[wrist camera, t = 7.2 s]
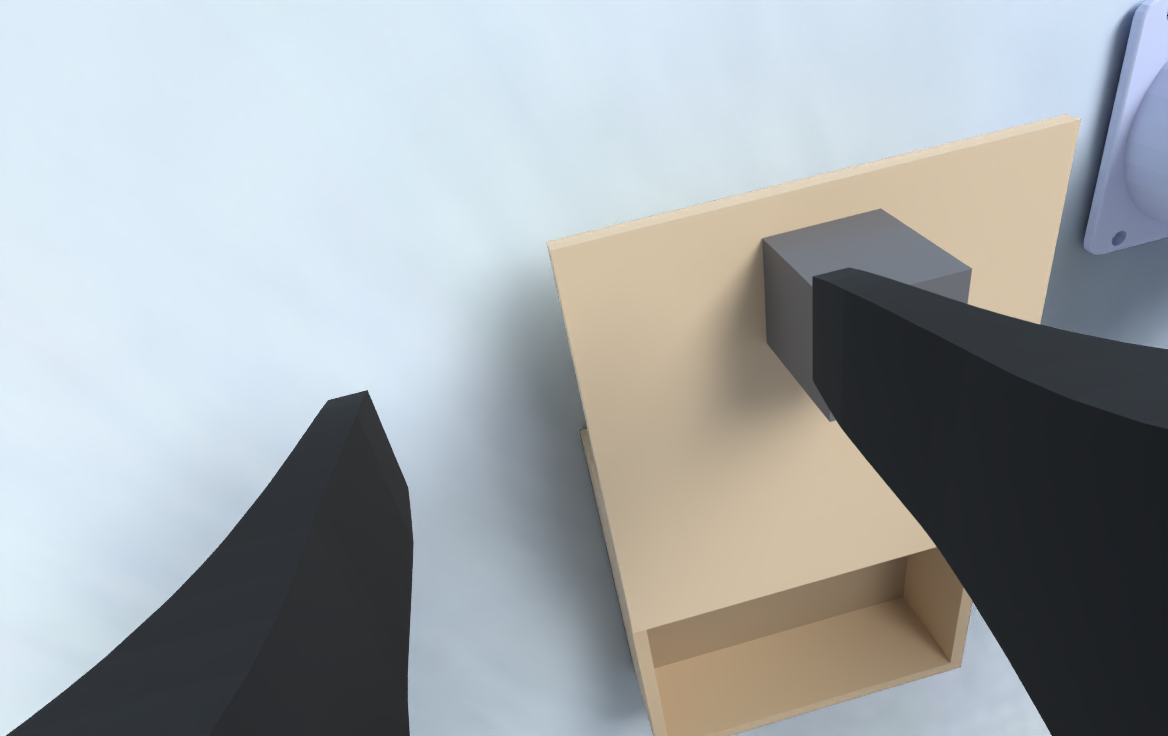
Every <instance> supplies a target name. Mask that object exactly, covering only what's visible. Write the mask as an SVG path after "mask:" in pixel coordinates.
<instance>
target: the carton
mask: <svg viewBox="0 0 1168 736" xmlns="http://www.w3.org/2000/svg"><path fill="white" fill-rule="evenodd" d="M580 434H581V438H582V442H583V447H584V451H585V456H586V460H587V464H588V469H589V473H590V478H591V482H592V486H593V491H594V495H595V500H596V504H597V508H598V513H599V517H600V522H601V526H602V530H603V535H604V539H605V544H606V548H607V552H608V557H609V561H610V565H611V570H612V574H613V579H614V583H615V587H616V592H617V596H618V601H619V605H620V609H621V614H622V618H623V623H624V627H625V631H626V636H627V640H628V645H629V649H630V653H631V658H632V662H633V667H634V671H635V674H636V678H637V681H638V685H639V688H640V692H641V695H642V698H643V702H644V705H645V709H646V712H647V716H648V719H649V723H650V726H651V729H652V733H653V736H730V735H733V734H737V733H740V732H744V731H747V730H750V729H754V728H757V727H760V726H764V725H767V724H770V723H774V722H777V721H781V720H784V719H787V718H791V717H794V716H797V715H801V714H804V713H807V712H811V711H814V710H818V709H821V708H824V707H828V706H831V705H834V704H838V703H841V702H844V701H848V700H851V699H855V698H858V697H861V696H865V695H868V694H871V693H875V692H878V691H881V690H885V689H888V688H891V687H895V686H898V685H902V684H905V683H908V682H912V681H915V680H918V679H922V678H925V677H928V676H932V675H935V674H939V673H942V672H945V671H949V670H952V669H955V668H959V667H961V662H962V656H963V651H964V645H965V640H966V634H967V629H968V624H969V618H970V613H971V607H972V602H973V601H972V599H971V598H970V596H969V595H968V593H967V592H966V590H965V589H964V587H963V586H962V584H961V583H960V581H959V580H958V578H957V577H956V575H955V573H954V572H953V570H952V569H951V567H950V566H949V564H948V563H947V561H946V560H945V558H944V557H943V555H942V554H941V552H940V551H939V549H938V548H937V547H935V548H931V549H928V550H924V551H921V552H917V553H914V554H910V555H907V556H903V557H900V558H896V559H893V560H889V561H886V562H882V563H879V564H875V565H872V566H868V567H865V568H861V569H858V570H854V571H851V572H847V573H844V574H840V575H837V576H833V577H830V578H826V579H823V580H819V581H816V582H812V583H809V584H805V585H802V586H798V587H795V588H791V589H788V590H784V591H781V592H777V593H773V594H770V595H766V596H763V597H759V598H756V599H752V600H749V601H745V602H742V603H738V604H735V605H731V606H728V607H724V608H721V609H717V610H714V611H710V612H707V613H703V614H700V615H696V616H693V617H689V618H686V619H682V620H679V621H675V622H672V623H668V624H665V625H661V626H658V627H654V628H651V629H647V630H644V631H640V632H637V633H633V630H632V627H631V624H630V620H629V615H628V611H627V606H626V602H625V597H624V593H623V588H622V583H621V579H620V574H619V570H618V565H617V561H616V556H615V552H614V547H613V543H612V538H611V533H610V529H609V524H608V520H607V515H606V511H605V506H604V502H603V497H602V492H601V488H600V483H599V479H598V474H597V470H596V465H595V461H594V456H593V452H592V447H591V442H590V438H589V433H588V429H587V428H586V429H583V430H580Z"/></svg>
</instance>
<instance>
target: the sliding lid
mask: <svg viewBox="0 0 1168 736" xmlns="http://www.w3.org/2000/svg"><path fill="white" fill-rule="evenodd" d="M1080 122H1081V119H1078V118H1075V117H1072V116H1069V115H1066V114H1065V115H1061V116H1057V117H1053V118H1049V119H1045V120H1041V121H1036V122H1032V123H1028V124H1024V125H1020V126H1016V127H1012V128H1008V129H1004V130H1000V131H996V132H992V133H988V134H984V135H980V136H975V137H971V138H967V139H963V140H959V141H955V142H951V143H947V144H943V145H939V146H935V147H931V148H927V149H923V150H919V151H914V152H910V153H906V154H902V155H898V156H894V157H890V158H886V159H882V160H878V161H874V162H870V163H866V164H862V165H858V166H853V167H849V168H845V169H841V170H837V171H833V172H829V173H825V174H821V175H817V176H813V177H809V178H805V179H801V180H797V181H792V182H788V183H784V184H780V185H776V186H772V187H768V188H764V189H760V190H756V191H752V192H748V193H744V194H740V195H736V196H731V197H727V198H723V199H719V200H715V201H711V202H707V203H703V204H699V205H695V206H691V207H687V208H683V209H679V210H675V211H670V212H666V213H662V214H658V215H654V216H650V217H646V218H642V219H638V220H634V221H630V222H626V223H622V224H618V225H614V226H609V227H605V228H601V229H597V230H593V231H589V232H585V233H581V234H577V235H573V236H569V237H565V238H561V239H557V240H553V241H548V242H547V247H548V251H549V256H550V260H551V265H552V269H553V274H554V279H555V283H556V288H557V292H558V297H559V301H560V306H561V310H562V315H563V320H564V324H565V329H566V333H567V338H568V342H569V347H570V351H571V356H572V361H573V365H574V370H575V374H576V379H577V383H578V388H579V392H580V397H581V401H582V406H583V411H584V415H585V420H586V424H587V429H588V433H589V438H590V442H591V447H592V452H593V456H594V461H595V465H596V470H597V474H598V479H599V483H600V488H601V492H602V497H603V502H604V506H605V511H606V515H607V520H608V524H609V529H610V533H611V538H612V543H613V547H614V552H615V556H616V561H617V565H618V570H619V574H620V579H621V583H622V588H623V593H624V597H625V602H626V606H627V611H628V615H629V620H630V624H631V627H632V630H633V633H637V632H640V631H644V630H647V629H651V628H654V627H658V626H661V625H665V624H668V623H672V622H675V621H679V620H682V619H686V618H689V617H693V616H696V615H700V614H703V613H707V612H710V611H714V610H717V609H721V608H724V607H728V606H731V605H735V604H738V603H742V602H745V601H749V600H752V599H756V598H759V597H763V596H766V595H770V594H773V593H777V592H781V591H784V590H788V589H791V588H795V587H798V586H802V585H805V584H809V583H812V582H816V581H819V580H823V579H826V578H830V577H833V576H837V575H840V574H844V573H847V572H851V571H854V570H858V569H861V568H865V567H868V566H872V565H875V564H879V563H882V562H886V561H889V560H893V559H896V558H900V557H903V556H907V555H910V554H914V553H917V552H921V551H924V550H928V549H931V548H935V547H937V546H936V545H935V544H934V542H933V541H932V540H931V538H930V537H929V536H928V535H927V533H926V532H925V531H924V529H923V528H922V527H921V525H920V524H919V523H918V522H917V520H916V519H915V518H914V517H913V516H912V514H911V513H910V512H909V511H908V510H907V508H906V507H905V506H904V505H903V504H902V502H901V501H900V500H899V499H898V497H897V496H896V495H895V494H894V493H893V491H892V490H891V489H890V488H889V487H888V485H887V484H886V483H885V482H884V480H883V479H882V478H881V477H880V476H879V474H878V473H877V472H876V471H875V470H874V468H873V467H872V466H871V465H870V464H869V462H868V461H867V460H866V459H865V457H864V456H863V455H862V454H861V452H860V451H859V450H858V449H857V448H856V446H855V445H854V444H853V443H852V441H851V440H850V439H849V438H848V436H847V435H846V434H845V432H844V431H843V430H842V429H841V427H840V426H839V424H838V423H837V421H836V419H835V418H834V416H833V414H832V413H831V411H830V410H829V408H828V406H827V405H826V403H825V401H824V399H823V398H822V396H821V394H820V392H819V391H818V389H817V387H816V385H815V384H814V382H813V323H812V277H813V276H816V275H820V274H824V273H828V272H832V271H836V270H840V269H844V268H848V267H850V268H854V269H859V270H863V271H867V272H870V273H873V274H877V275H880V276H883V277H886V278H890V279H893V280H896V281H899V282H902V283H905V284H908V285H911V286H914V287H917V288H920V289H923V290H926V291H929V292H932V293H935V294H938V295H941V296H944V297H947V298H950V299H954V300H957V301H960V302H963V303H966V304H969V305H973V306H976V307H979V308H982V309H986V310H989V311H992V312H996V313H999V314H1003V315H1006V316H1010V317H1014V318H1018V319H1021V320H1025V321H1029V322H1032V323H1036V324H1040V323H1041V318H1042V313H1043V308H1044V303H1045V298H1046V293H1047V288H1048V283H1049V278H1050V273H1051V267H1052V262H1053V257H1054V252H1055V247H1056V242H1057V237H1058V232H1059V227H1060V222H1061V217H1062V212H1063V207H1064V202H1065V197H1066V192H1067V187H1068V182H1069V177H1070V172H1071V167H1072V162H1073V157H1074V152H1075V147H1076V142H1077V137H1078V132H1079V127H1080Z"/></svg>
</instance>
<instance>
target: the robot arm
mask: <svg viewBox="0 0 1168 736" xmlns="http://www.w3.org/2000/svg"><path fill="white" fill-rule="evenodd" d="M1167 13H1168V0H1145V1H1144V2H1142V3H1141V4H1140V6H1139V7H1138V9H1137V10H1136V12H1135V14H1134V17H1133V21H1132V25H1131V30H1130V34H1129V39H1128V43H1127V48H1126V52H1125V57H1124V62H1123V66H1122V71H1121V75H1120V80H1119V84H1118V89H1117V93H1116V98H1115V102H1114V107H1113V111H1112V116H1111V120H1110V125H1109V129H1108V134H1107V138H1106V143H1105V147H1104V152H1103V156H1102V161H1101V166H1100V170H1099V175H1098V179H1097V184H1096V188H1095V193H1094V197H1093V202H1092V206H1091V211H1090V215H1089V220H1088V224H1087V229H1086V233H1085V238H1084V248H1085V250H1087V251H1089V252H1091V253H1093V254H1095V255H1102V254H1106V253H1110V252H1114V251H1117V250H1121V249H1125V248H1129V247H1133V246H1137V245H1140V244H1144V243H1148V242H1152V241H1156V240H1160V239H1163V238H1167V237H1168V16H1167ZM1115 234H1116V235H1115ZM1114 235H1115V237H1114V238H1113V236H1114ZM812 323H813V382H814V384H815V385H816V387H817V389H818V391H819V392H820V394H821V396H822V398H823V399H824V401H825V403H826V405H827V406H828V408H829V410H830V411H831V413H832V414H833V416H834V418H835V419H836V421H837V423H838V424H839V426H840V427H841V429H842V430H843V431H844V432H845V434H846V435H847V436H848V438H849V439H850V440H851V441H852V443H853V444H854V445H855V446H856V448H857V449H858V450H859V451H860V452H861V454H862V455H863V456H864V457H865V459H866V460H867V461H868V462H869V464H870V465H871V466H872V467H873V468H874V470H875V471H876V472H877V473H878V474H879V476H880V477H881V478H882V479H883V480H884V482H885V483H886V484H887V485H888V487H889V488H890V489H891V490H892V491H893V493H894V494H895V495H896V496H897V497H898V499H899V500H900V501H901V502H902V504H903V505H904V506H905V507H906V508H907V510H908V511H909V512H910V513H911V514H912V516H913V517H914V518H915V519H916V520H917V522H918V523H919V524H920V525H921V527H922V528H923V529H924V531H925V532H926V533H927V535H928V536H929V537H930V538H931V540H932V541H933V542H934V544H935V545H936V546H937V548H938V549H939V551H940V552H941V554H942V555H943V557H944V558H945V560H946V561H947V563H948V564H949V566H950V567H951V569H952V570H953V572H954V573H955V575H956V577H957V578H958V580H959V581H960V583H961V584H962V586H963V587H964V589H965V590H966V592H967V593H968V595H969V596H970V598H971V599H972V601H973V603H974V604H975V606H976V607H977V609H978V611H979V612H980V614H981V616H982V617H983V619H984V620H985V622H986V624H987V625H988V627H989V629H990V630H991V632H992V633H993V635H994V637H995V638H996V640H997V642H998V643H999V645H1000V646H1001V648H1002V650H1003V651H1004V653H1005V655H1006V656H1007V658H1008V660H1009V661H1010V663H1011V665H1012V667H1013V668H1014V670H1015V672H1016V674H1017V675H1018V677H1019V679H1020V681H1021V682H1022V684H1023V686H1024V688H1025V689H1026V691H1027V693H1028V694H1029V696H1030V698H1031V700H1032V701H1033V703H1034V705H1035V707H1036V708H1037V710H1038V712H1039V714H1040V715H1041V717H1042V719H1043V721H1044V722H1045V724H1046V726H1047V728H1048V730H1049V731H1050V733H1051V735H1052V736H1168V349H1161V348H1154V347H1148V346H1142V345H1136V344H1130V343H1124V342H1118V341H1113V340H1108V339H1103V338H1099V337H1094V336H1089V335H1084V334H1079V333H1074V332H1069V331H1065V330H1060V329H1056V328H1052V327H1048V326H1044V325H1040V324H1036V323H1032V322H1029V321H1025V320H1021V319H1018V318H1014V317H1010V316H1006V315H1003V314H999V313H996V312H992V311H989V310H986V309H982V308H979V307H976V306H973V305H969V304H966V303H963V302H960V301H957V300H954V299H950V298H947V297H944V296H941V295H938V294H935V293H932V292H929V291H926V290H923V289H920V288H917V287H914V286H911V285H908V284H905V283H902V282H899V281H896V280H893V279H890V278H886V277H883V276H880V275H877V274H873V273H870V272H867V271H863V270H859V269H854V268H850V267H848V268H844V269H840V270H836V271H832V272H828V273H824V274H820V275H816V276H813V277H812ZM412 568H413V533H412V521H411V510H410V501H409V491H408V486H407V484H406V481H405V479H404V477H403V474H402V472H401V469H400V467H399V465H398V462H397V460H396V457H395V455H394V453H393V450H392V448H391V445H390V443H389V441H388V438H387V436H386V433H385V431H384V429H383V426H382V424H381V422H380V419H379V417H378V414H377V412H376V410H375V407H374V405H373V402H372V400H371V398H370V395H369V393H368V390H366V391H363V392H359V393H355V394H351V395H347V396H343V397H339V398H335V399H331V400H328V401H327V403H326V404H325V405H324V406H323V408H322V409H321V410H320V412H319V413H318V415H317V416H316V418H315V419H314V420H313V422H312V423H311V425H310V426H309V428H308V429H307V431H306V432H305V434H304V435H303V436H302V438H301V439H300V441H299V442H298V444H297V445H296V447H295V448H294V450H293V451H292V452H291V454H290V455H289V457H288V458H287V459H286V461H285V462H284V464H283V465H282V466H281V468H280V469H279V471H278V472H277V473H276V475H275V476H274V478H273V479H272V480H271V482H270V483H269V484H268V486H267V487H266V488H265V490H264V491H263V492H262V493H261V495H260V496H259V497H258V499H257V500H256V501H255V502H254V504H253V505H252V506H251V507H250V509H249V510H248V511H247V512H246V514H245V515H244V516H243V517H242V519H241V520H240V521H239V522H238V524H237V525H236V526H235V527H234V529H233V530H232V531H231V532H230V534H229V535H228V536H227V537H226V538H225V540H224V541H223V542H222V543H221V544H220V545H219V547H218V548H217V549H216V550H215V551H214V552H213V553H212V554H211V556H210V557H209V558H208V559H207V560H206V561H205V562H204V563H203V564H202V565H201V566H200V568H199V569H198V570H197V571H196V572H195V573H194V574H193V575H192V576H191V577H190V578H189V579H188V580H187V581H186V582H185V583H184V584H183V585H182V586H181V587H180V588H179V589H178V590H177V591H176V592H175V593H174V594H173V595H172V596H171V597H170V598H169V599H168V600H167V601H166V602H165V603H164V604H163V605H162V606H161V607H160V608H159V609H158V610H157V611H156V612H154V613H153V614H152V615H151V616H150V617H149V618H148V619H147V620H146V621H145V622H144V623H142V624H141V625H140V626H139V627H138V628H137V629H136V630H135V631H134V632H133V633H131V634H130V635H129V636H128V637H127V638H126V639H125V640H124V641H123V642H122V643H121V644H119V645H118V646H117V647H116V648H115V649H114V650H113V651H112V652H111V653H110V654H108V655H107V656H106V657H105V658H104V659H103V660H101V661H100V662H99V663H98V664H97V665H95V666H94V667H93V668H92V669H91V670H89V671H88V672H87V673H86V674H85V675H83V676H82V677H81V678H80V679H78V680H77V681H76V682H75V683H74V684H72V685H71V686H70V687H69V688H67V689H66V690H65V691H64V692H62V693H61V694H60V695H59V696H57V697H56V698H55V699H53V700H52V701H51V702H50V703H48V704H47V705H46V706H44V707H43V708H42V709H41V710H39V711H38V712H37V713H35V714H34V715H33V716H32V717H30V718H29V719H28V720H26V721H25V722H24V723H22V724H21V725H20V726H18V727H17V728H16V729H14V730H13V731H12V732H10V733H9V734H8V735H6V736H410V732H409V716H408V654H409V633H410V612H411V592H412Z"/></svg>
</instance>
